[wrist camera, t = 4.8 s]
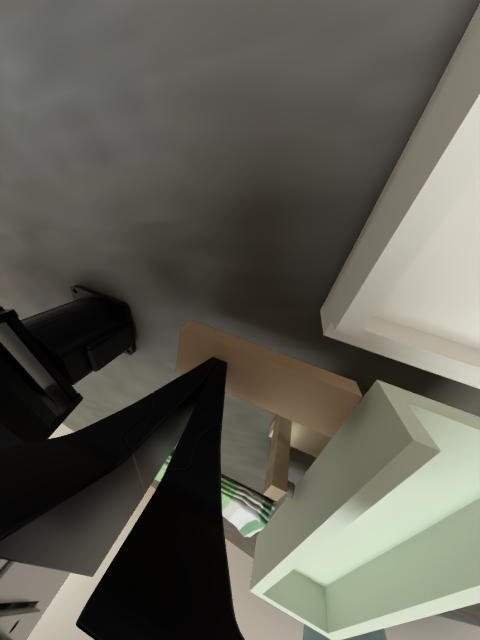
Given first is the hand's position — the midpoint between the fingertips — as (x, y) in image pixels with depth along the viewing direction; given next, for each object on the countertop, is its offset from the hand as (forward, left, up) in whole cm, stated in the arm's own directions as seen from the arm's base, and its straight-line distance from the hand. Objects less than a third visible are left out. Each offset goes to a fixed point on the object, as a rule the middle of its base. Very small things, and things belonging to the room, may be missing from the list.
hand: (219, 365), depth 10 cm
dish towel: (+1, -38, -6) cm, 39 cm away
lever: (+6, -8, 0) cm, 10 cm away
